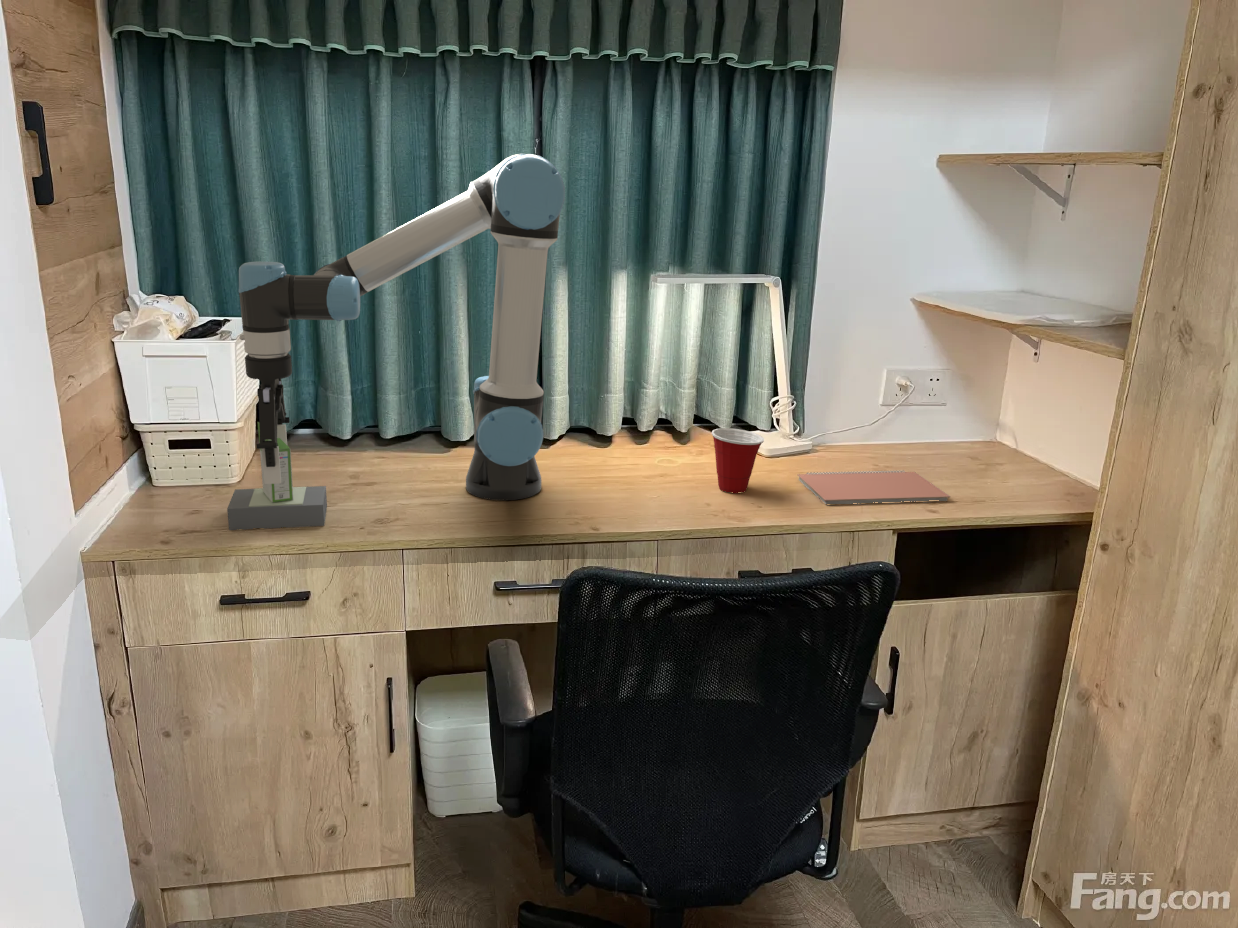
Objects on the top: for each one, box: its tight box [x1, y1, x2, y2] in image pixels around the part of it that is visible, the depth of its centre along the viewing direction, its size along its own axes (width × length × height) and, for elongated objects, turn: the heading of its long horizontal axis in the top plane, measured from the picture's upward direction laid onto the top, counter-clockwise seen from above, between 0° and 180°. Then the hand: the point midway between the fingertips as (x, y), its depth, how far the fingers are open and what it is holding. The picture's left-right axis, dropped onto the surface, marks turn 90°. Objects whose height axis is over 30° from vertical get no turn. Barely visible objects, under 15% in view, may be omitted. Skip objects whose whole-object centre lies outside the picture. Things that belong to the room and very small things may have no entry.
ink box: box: [257, 421, 294, 502], centre depth 173 cm, size 7×4×13 cm, turn 32°
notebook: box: [797, 469, 951, 505], centre depth 204 cm, size 27×17×2 cm, turn 101°
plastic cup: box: [711, 427, 765, 494], centre depth 200 cm, size 11×11×12 cm
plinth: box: [226, 485, 328, 531], centre depth 176 cm, size 16×10×4 cm, turn 103°
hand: (276, 470), depth 174 cm, fingers open, 13 cm apart
